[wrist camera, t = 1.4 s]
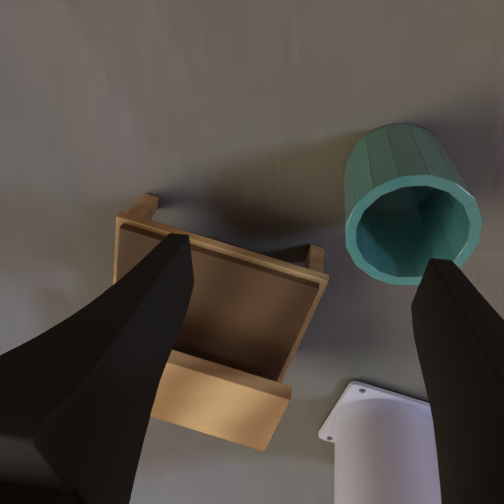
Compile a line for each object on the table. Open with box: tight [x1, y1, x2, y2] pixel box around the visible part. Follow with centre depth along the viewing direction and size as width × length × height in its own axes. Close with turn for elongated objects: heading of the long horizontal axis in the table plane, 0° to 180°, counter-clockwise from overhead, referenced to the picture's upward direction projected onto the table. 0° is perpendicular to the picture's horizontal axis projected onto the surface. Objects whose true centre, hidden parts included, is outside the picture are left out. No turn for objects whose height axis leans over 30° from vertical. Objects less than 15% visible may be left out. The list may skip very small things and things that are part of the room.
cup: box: [344, 124, 483, 285], centre depth 19 cm, size 5×5×6 cm
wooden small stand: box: [113, 194, 329, 451], centre depth 26 cm, size 12×13×6 cm
